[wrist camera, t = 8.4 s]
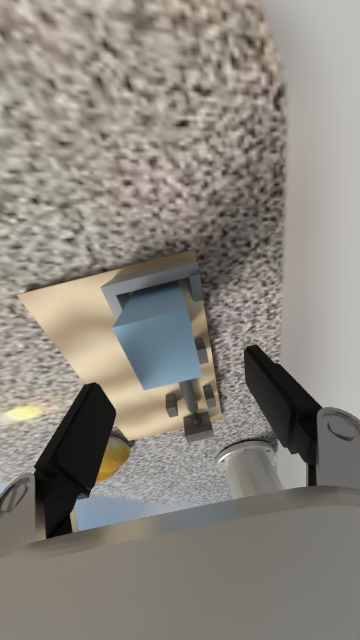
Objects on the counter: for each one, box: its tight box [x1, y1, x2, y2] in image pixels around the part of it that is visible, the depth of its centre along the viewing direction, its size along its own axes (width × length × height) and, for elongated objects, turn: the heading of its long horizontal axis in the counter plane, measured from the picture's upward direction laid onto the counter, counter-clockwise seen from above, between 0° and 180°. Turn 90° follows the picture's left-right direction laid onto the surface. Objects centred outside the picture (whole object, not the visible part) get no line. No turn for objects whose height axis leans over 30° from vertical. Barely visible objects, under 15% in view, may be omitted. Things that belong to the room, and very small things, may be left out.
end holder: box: [100, 259, 204, 320], centre depth 13 cm, size 3×7×3 cm, turn 103°
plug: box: [112, 280, 202, 413], centre depth 15 cm, size 18×4×7 cm, turn 13°
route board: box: [17, 250, 222, 443], centre depth 18 cm, size 27×16×3 cm, turn 13°
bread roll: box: [96, 436, 130, 482], centre depth 25 cm, size 8×9×4 cm
